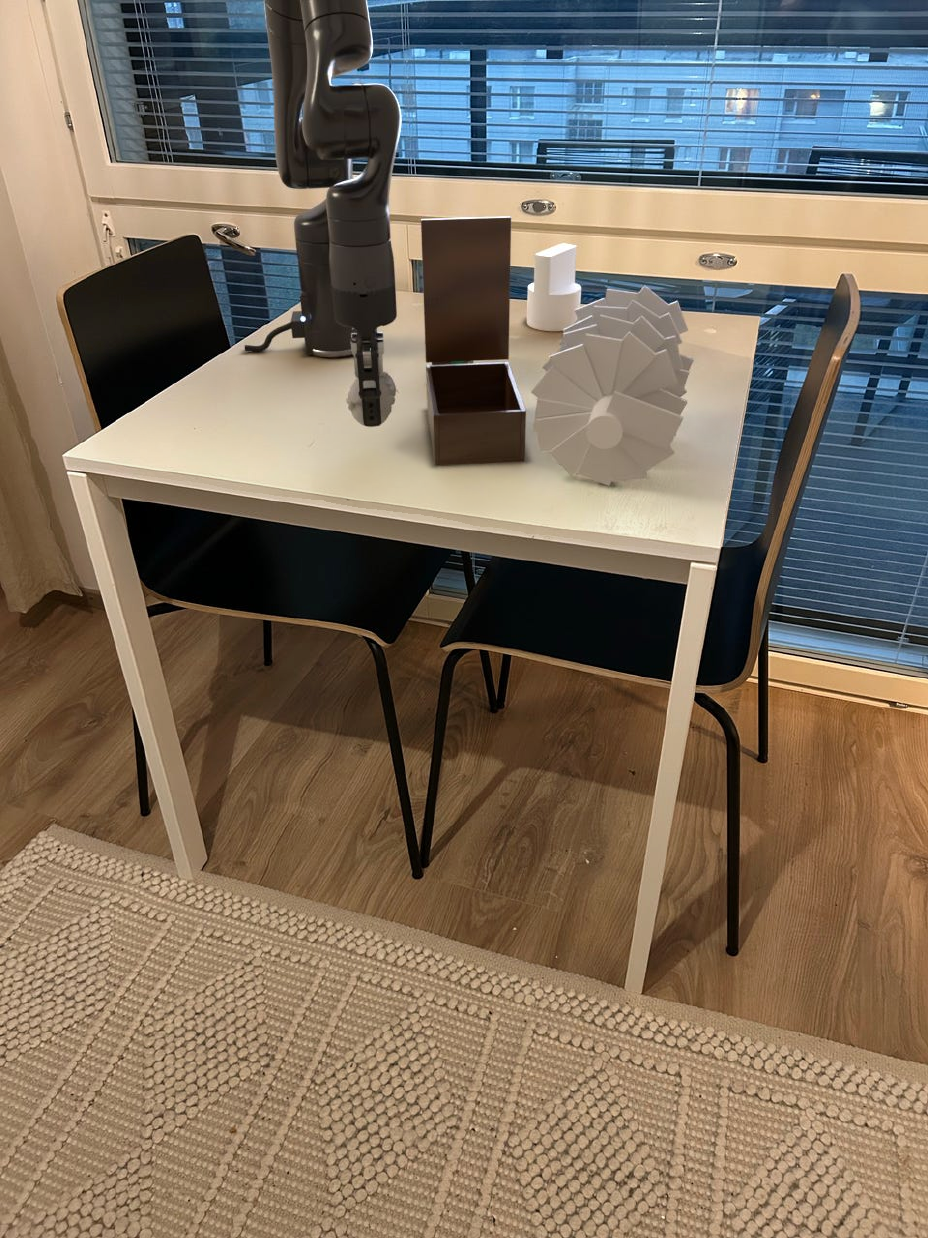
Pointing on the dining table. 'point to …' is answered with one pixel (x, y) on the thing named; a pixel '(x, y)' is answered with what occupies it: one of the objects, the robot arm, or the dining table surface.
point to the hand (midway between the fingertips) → (372, 413)
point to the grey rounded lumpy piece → (385, 398)
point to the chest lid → (466, 288)
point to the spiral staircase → (615, 388)
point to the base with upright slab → (554, 289)
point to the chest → (475, 414)
